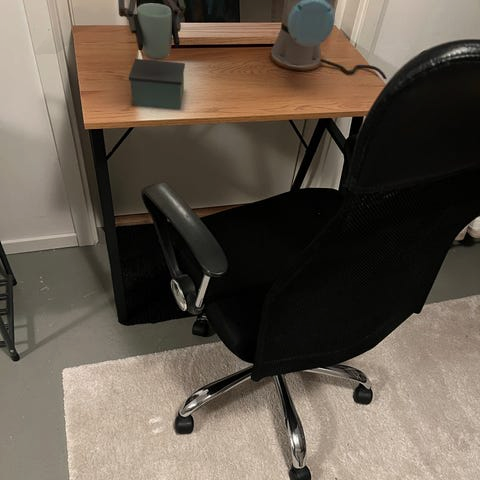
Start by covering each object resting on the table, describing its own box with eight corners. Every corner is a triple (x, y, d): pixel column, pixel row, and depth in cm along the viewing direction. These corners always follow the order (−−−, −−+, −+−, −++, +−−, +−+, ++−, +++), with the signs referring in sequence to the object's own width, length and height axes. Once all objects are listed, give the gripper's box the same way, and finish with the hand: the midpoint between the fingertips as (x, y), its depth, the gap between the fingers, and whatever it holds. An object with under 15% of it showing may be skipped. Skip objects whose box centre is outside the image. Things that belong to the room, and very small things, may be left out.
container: (185, 90, 124) (184, 63, 118) (181, 110, 117) (181, 82, 112) (137, 86, 123) (135, 58, 117) (131, 105, 116) (128, 77, 111)
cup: (173, 64, 110) (172, 16, 103) (140, 63, 109) (136, 15, 101) (171, 50, 115) (170, 3, 107) (140, 49, 114) (136, 2, 106)
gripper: (180, -50, 110) (198, 51, 114) (91, -51, 105) (113, 56, 108) (186, -72, 103) (205, 36, 107) (91, -75, 98) (114, 40, 101)
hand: (159, 46), depth 107 cm, fingers closed on cup, 8 cm apart
